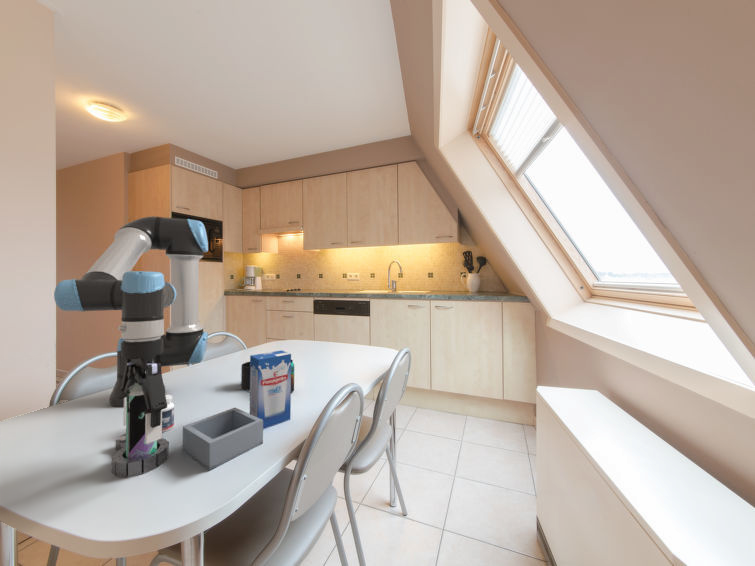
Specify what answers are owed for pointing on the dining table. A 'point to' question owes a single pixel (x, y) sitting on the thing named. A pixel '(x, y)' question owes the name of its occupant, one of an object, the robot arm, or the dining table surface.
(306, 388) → the dining table surface
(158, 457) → the socket ring
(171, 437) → the dining table surface
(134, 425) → the spray can
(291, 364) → the beverage can
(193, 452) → the bin
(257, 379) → the milk carton
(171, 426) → the pill bottle
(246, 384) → the mug
